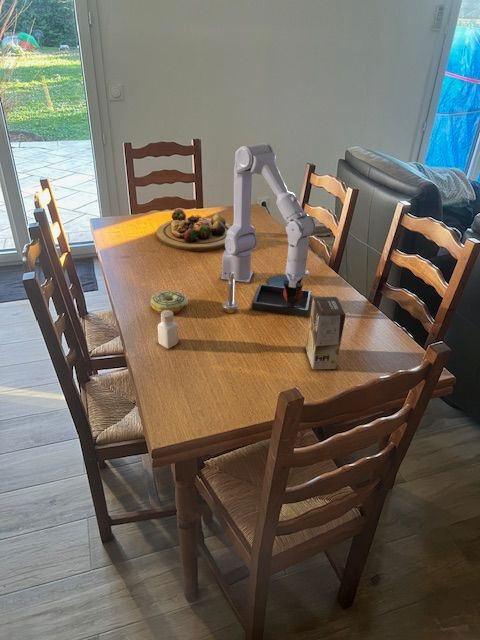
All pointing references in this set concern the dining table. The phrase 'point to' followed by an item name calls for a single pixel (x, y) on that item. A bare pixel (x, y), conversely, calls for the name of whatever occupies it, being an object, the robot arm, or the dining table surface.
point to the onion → (297, 295)
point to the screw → (230, 296)
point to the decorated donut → (168, 301)
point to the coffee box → (325, 332)
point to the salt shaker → (167, 330)
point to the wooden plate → (194, 232)
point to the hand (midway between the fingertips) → (292, 297)
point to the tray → (280, 301)
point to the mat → (277, 281)
